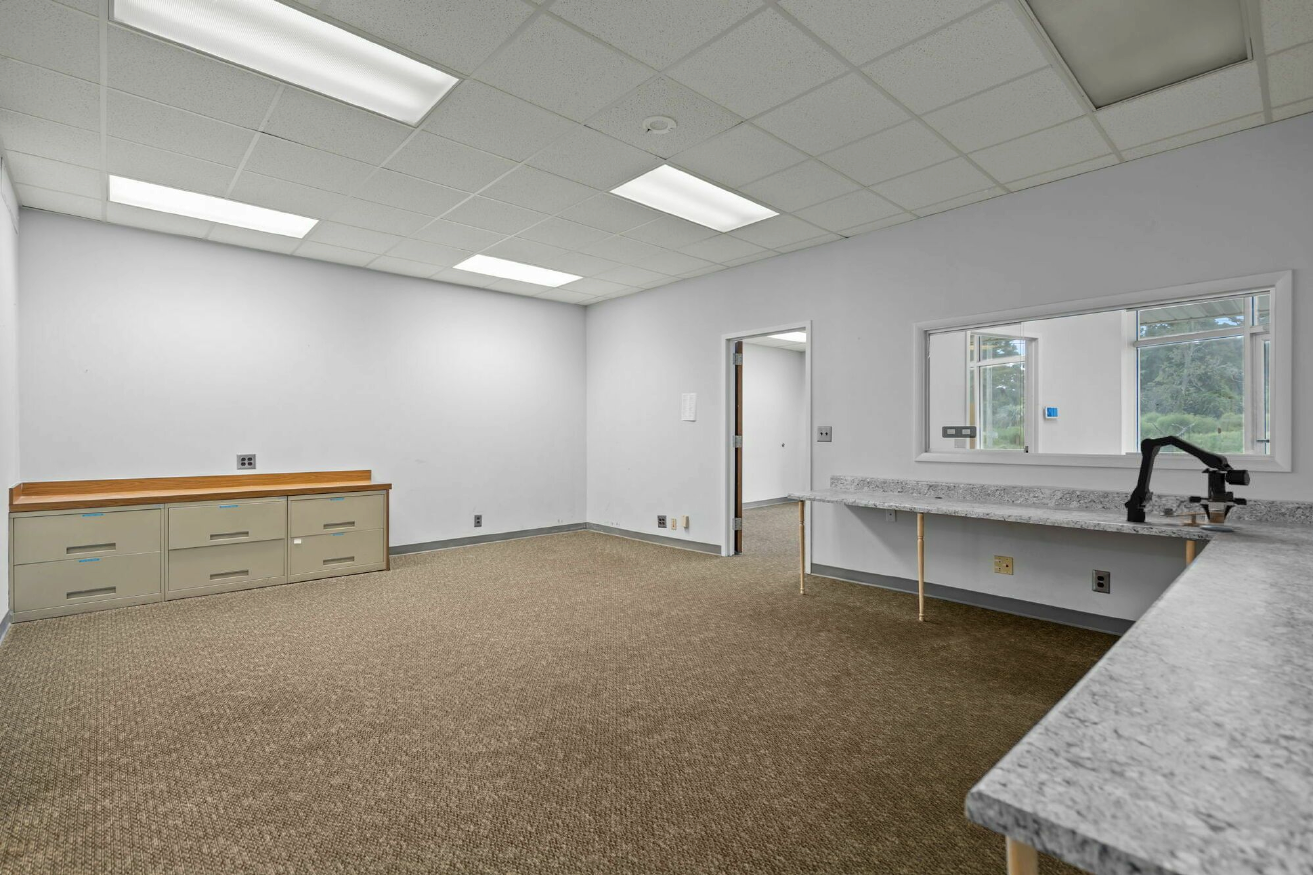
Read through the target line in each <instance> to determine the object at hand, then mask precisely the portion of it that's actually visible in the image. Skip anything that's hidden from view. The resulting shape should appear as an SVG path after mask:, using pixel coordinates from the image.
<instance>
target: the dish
mask: <svg viewBox="0 0 1313 875" xmlns="http://www.w3.org/2000/svg"><path fill="white" fill-rule="evenodd" d="M1199 528H1201V529H1202V530H1205V531H1214V532H1230V531H1234V529H1235V528H1234V527H1231V526H1226V525H1208V524H1206V525H1200V526H1199Z"/></svg>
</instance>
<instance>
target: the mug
mask: <svg viewBox="0 0 1313 875" xmlns="http://www.w3.org/2000/svg"><path fill="white" fill-rule="evenodd" d="M1207 504H1209V511H1211V509H1224V504H1226V503H1220V502H1217V503H1216V502H1208V503H1207ZM1212 512H1214V511H1212ZM1234 513H1235V507H1232V508H1231V509H1230V512H1229V513H1228V514H1227V516H1226V519H1225V520H1230V519H1232V518H1233V515H1234ZM1204 518H1205V519H1204V521H1205V522H1204V523H1205V524H1206V525H1215V526H1225V525H1224V524H1225V523H1224V524H1222V523H1210V522H1208V518H1207V516H1206V514H1204Z"/></svg>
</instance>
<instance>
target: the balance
mask: <svg viewBox="0 0 1313 875" xmlns="http://www.w3.org/2000/svg"><path fill="white" fill-rule="evenodd" d="M1211 511H1214V512H1223V509H1211ZM1205 514H1206V513H1205V511H1202V512H1193V513H1192V512H1191V513H1178V514H1176V513H1175V514H1174V508H1173V507H1166V506H1164V507H1163V513H1159V515H1160V516H1162V517H1165V518H1175V517H1176V518H1177V517H1178V518H1179V517H1188V516H1190V521H1187V520H1183V521H1180V524H1181V525H1182V526H1188V527H1189V526H1191V527H1200V525H1207V524H1205V522H1199V521H1198V522H1197V516H1202V515H1203V516H1205Z"/></svg>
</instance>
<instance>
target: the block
mask: <svg viewBox="0 0 1313 875" xmlns="http://www.w3.org/2000/svg"><path fill="white" fill-rule="evenodd" d="M1209 514H1210V520H1208V522H1210V523H1222V524H1225V521H1224V513H1223V512H1212V511H1209Z"/></svg>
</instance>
